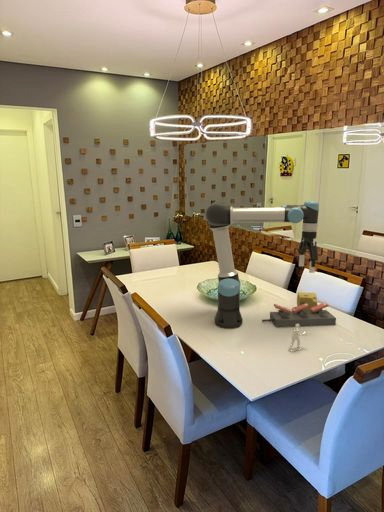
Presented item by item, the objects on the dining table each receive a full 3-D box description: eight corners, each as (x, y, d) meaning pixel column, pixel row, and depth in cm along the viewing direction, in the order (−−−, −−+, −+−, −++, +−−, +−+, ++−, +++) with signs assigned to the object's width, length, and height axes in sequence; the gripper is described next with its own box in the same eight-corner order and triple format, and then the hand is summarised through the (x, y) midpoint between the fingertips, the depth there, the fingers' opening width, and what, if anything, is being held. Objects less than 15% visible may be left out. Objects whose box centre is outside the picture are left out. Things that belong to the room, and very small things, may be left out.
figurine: (285, 349, 162) (286, 325, 159) (298, 344, 167) (300, 320, 164) (294, 353, 158) (295, 328, 155) (307, 347, 163) (308, 323, 160)
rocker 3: (313, 313, 192) (312, 310, 192) (310, 311, 196) (309, 308, 196) (329, 307, 192) (328, 304, 192) (325, 304, 196) (324, 301, 195)
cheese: (317, 314, 202) (318, 298, 200) (297, 313, 204) (298, 297, 202) (314, 308, 212) (315, 292, 210) (296, 307, 214) (297, 291, 212)
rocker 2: (294, 314, 192) (293, 311, 191) (292, 311, 196) (291, 308, 195) (310, 308, 191) (309, 305, 191) (307, 305, 195) (306, 302, 195)
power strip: (265, 327, 185) (265, 318, 184) (259, 318, 197) (259, 309, 196) (335, 325, 187) (336, 315, 186) (325, 316, 199) (326, 307, 198)
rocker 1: (275, 309, 190) (276, 306, 190) (273, 306, 194) (274, 303, 194) (290, 314, 191) (291, 311, 191) (287, 311, 195) (289, 308, 195)
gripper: (327, 234, 176) (323, 275, 181) (306, 227, 200) (303, 263, 205) (312, 234, 176) (309, 275, 180) (293, 227, 200) (291, 263, 204)
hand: (306, 269), depth 193 cm, fingers open, 13 cm apart
